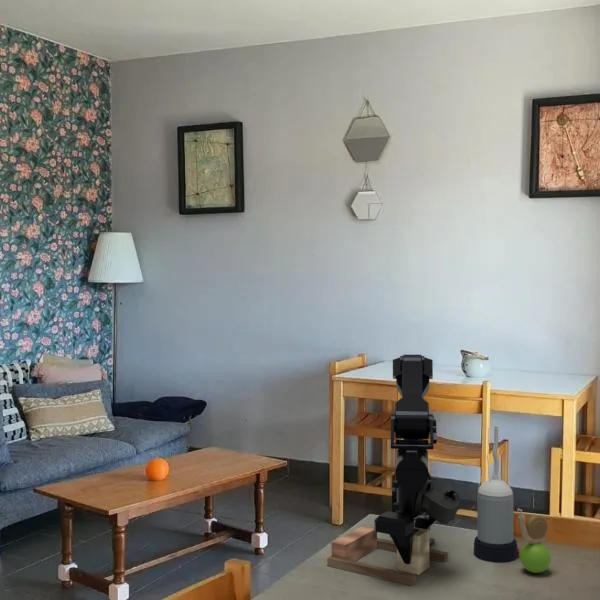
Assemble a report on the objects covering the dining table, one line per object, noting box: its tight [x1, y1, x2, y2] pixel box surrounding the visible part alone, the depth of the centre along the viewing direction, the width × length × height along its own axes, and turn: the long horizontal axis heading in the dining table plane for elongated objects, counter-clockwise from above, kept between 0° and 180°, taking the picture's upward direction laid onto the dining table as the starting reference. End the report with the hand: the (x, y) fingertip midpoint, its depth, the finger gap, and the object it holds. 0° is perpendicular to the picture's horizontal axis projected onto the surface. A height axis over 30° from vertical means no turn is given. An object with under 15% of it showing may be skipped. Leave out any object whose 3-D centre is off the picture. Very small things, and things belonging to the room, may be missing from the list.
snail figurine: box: [516, 508, 552, 574], centre depth 146 cm, size 5×6×12 cm
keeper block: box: [396, 527, 430, 576], centre depth 148 cm, size 4×4×7 cm
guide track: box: [326, 525, 449, 586], centre depth 152 cm, size 15×18×4 cm
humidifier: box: [473, 425, 520, 564], centre depth 155 cm, size 8×8×25 cm
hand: (413, 559), depth 149 cm, fingers closed on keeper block, 4 cm apart
